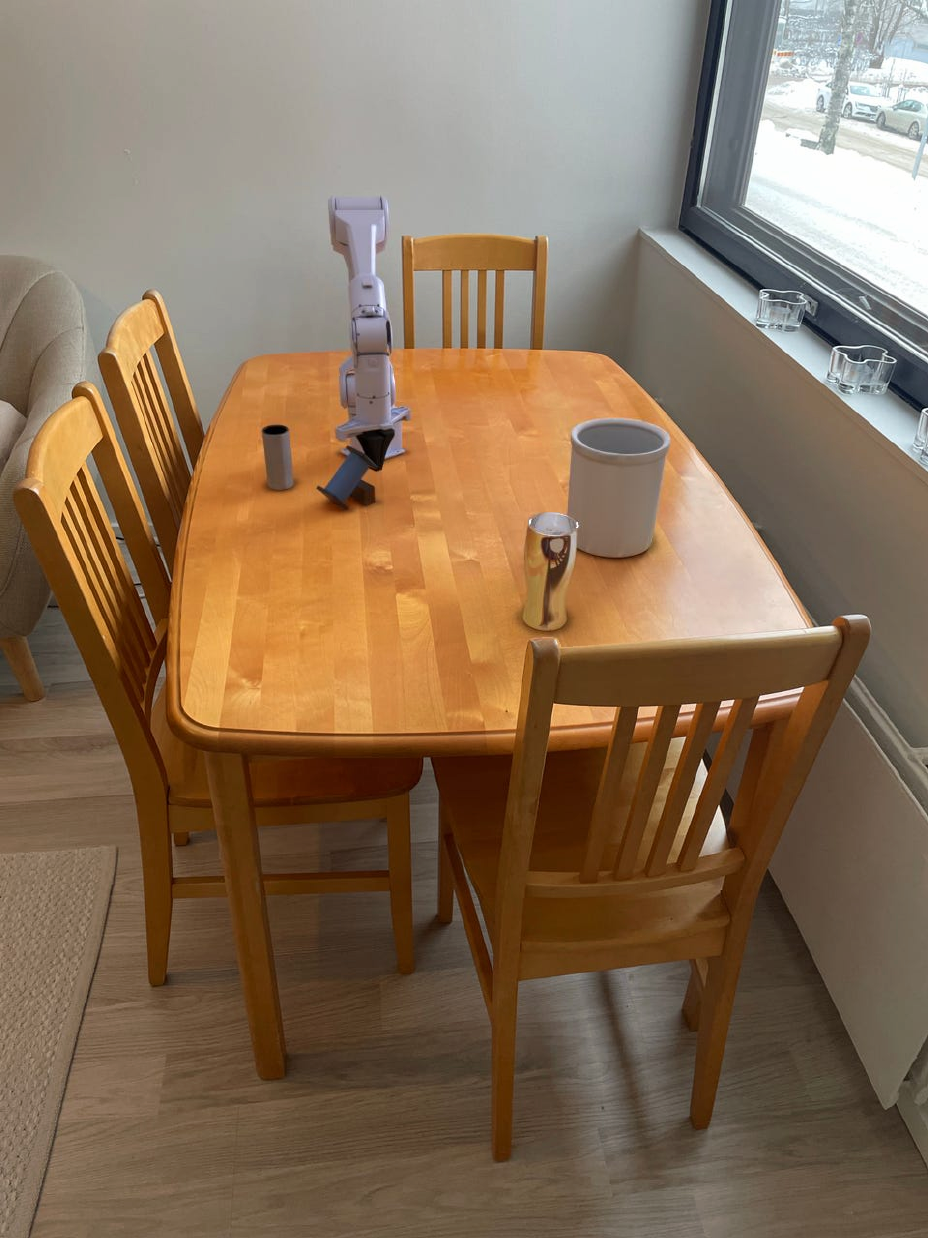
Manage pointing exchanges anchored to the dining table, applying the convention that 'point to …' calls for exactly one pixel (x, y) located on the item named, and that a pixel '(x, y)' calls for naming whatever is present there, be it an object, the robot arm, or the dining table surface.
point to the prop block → (363, 493)
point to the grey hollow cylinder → (277, 457)
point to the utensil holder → (616, 484)
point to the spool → (347, 477)
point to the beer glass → (549, 568)
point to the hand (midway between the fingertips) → (375, 469)
